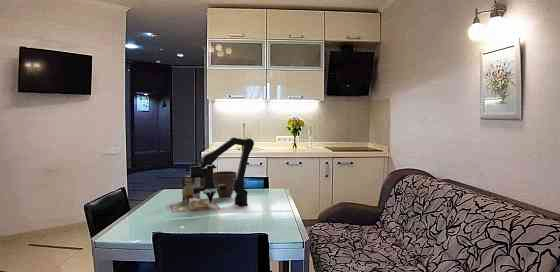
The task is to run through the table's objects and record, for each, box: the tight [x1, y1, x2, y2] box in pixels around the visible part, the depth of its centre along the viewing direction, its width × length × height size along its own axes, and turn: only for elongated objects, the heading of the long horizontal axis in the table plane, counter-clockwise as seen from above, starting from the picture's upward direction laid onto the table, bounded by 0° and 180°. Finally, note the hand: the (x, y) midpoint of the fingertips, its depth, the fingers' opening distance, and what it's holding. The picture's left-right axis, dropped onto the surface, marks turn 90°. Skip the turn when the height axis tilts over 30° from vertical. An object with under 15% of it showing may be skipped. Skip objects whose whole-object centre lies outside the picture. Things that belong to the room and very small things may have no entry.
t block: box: [188, 197, 209, 209], centre depth 221 cm, size 10×10×4 cm
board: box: [169, 201, 221, 214], centre depth 220 cm, size 26×20×1 cm
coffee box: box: [181, 174, 201, 203], centre depth 237 cm, size 9×6×16 cm
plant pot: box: [213, 170, 238, 199], centre depth 250 cm, size 15×15×16 cm
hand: (210, 203), depth 223 cm, fingers closed
